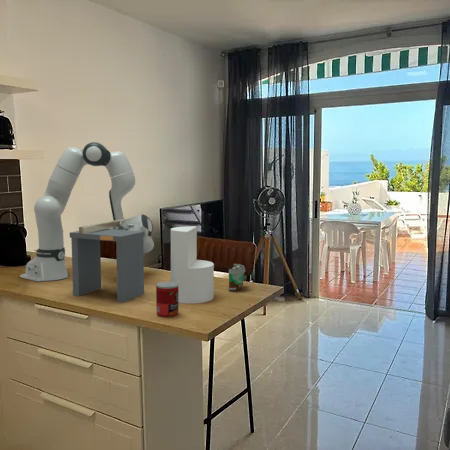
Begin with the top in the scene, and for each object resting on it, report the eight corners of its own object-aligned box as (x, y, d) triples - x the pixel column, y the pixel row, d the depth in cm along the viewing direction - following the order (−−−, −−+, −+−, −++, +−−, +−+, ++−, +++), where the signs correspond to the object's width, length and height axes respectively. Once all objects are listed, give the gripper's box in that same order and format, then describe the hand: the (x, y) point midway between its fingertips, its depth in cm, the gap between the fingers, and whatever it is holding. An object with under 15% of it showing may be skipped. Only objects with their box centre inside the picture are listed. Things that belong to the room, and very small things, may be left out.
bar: (79, 233, 178) (78, 227, 178) (119, 224, 202) (119, 219, 202) (85, 233, 177) (84, 227, 177) (124, 225, 201) (124, 219, 201)
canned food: (172, 318, 156) (172, 287, 155) (152, 315, 159) (151, 285, 158) (182, 312, 163) (182, 282, 162) (163, 309, 166) (162, 280, 165)
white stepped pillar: (165, 302, 176) (165, 231, 172) (176, 290, 193) (176, 225, 189) (209, 304, 173) (210, 232, 170) (216, 292, 190) (217, 227, 187)
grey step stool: (70, 295, 183) (68, 232, 180) (97, 286, 198) (95, 228, 195) (121, 303, 173) (120, 236, 170) (145, 293, 188) (144, 231, 185)
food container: (242, 293, 190) (243, 270, 189) (228, 292, 191) (228, 269, 190) (247, 286, 202) (247, 264, 201) (233, 285, 203) (233, 263, 202)
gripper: (115, 227, 214) (98, 214, 202) (151, 230, 206) (136, 217, 194) (111, 239, 212) (93, 227, 200) (148, 242, 204) (132, 230, 192)
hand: (115, 222), depth 197 cm, fingers closed on bar, 3 cm apart
